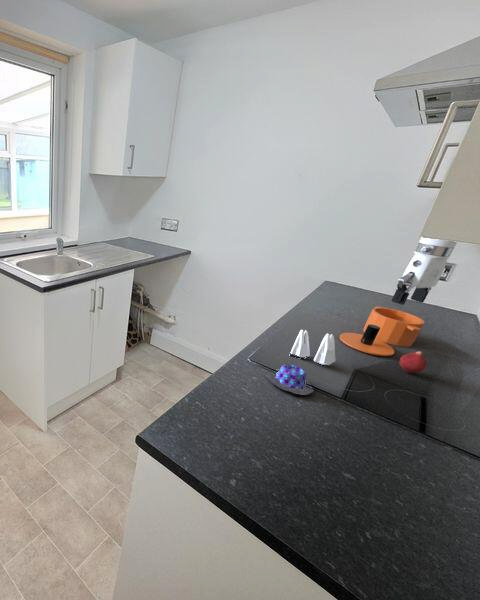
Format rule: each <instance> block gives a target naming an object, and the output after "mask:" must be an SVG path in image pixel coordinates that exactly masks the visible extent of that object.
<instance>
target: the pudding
mask: <svg viewBox="0 0 480 600" xmlns="http://www.w3.org/2000/svg"><path fill="white" fill-rule="evenodd" d="M278 370H279V371H278V372H277V373H276V377H275V378H276V379H277V380H278V381H280V383H281V384H283V385H286V386H289V387H290V388H294V389H296V388H298V389H303V388H304V387H305V386H306V380H307V374H306V371H305V370H304V369H303V368H301V367H299V366H298V365H293V364H291V363H287V364H283V365H282V366H281V367H280V368H279V369H278Z"/></svg>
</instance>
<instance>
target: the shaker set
mask: <svg viewBox="0 0 480 600" xmlns="http://www.w3.org/2000/svg"><path fill="white" fill-rule="evenodd" d="M309 340H310V339H309V333H308V331H307V329H305V330H304V329H300V331H299V333H298V334H297V336H296V339H295V341H294V344H293V346H292V348H291V351H290V353H291V354H295V355H297V356H299V357H305V358H304V359H307V357H309V356H310V357H311V351H310V341H309ZM335 345H336V343H335V336H334V334H332V333H331V334H329V333H326V334H325V335H324V337H323V338H322V341H321V342H320V345H319V347H318V349H317V352H316V354H315V355H314V358H313V361H314V363H316V364H318V363H319V364H321V365H320V366H322V365H328V366H330V365H332V364H334V363H335V362H336V361H337V360H336V349H335V347H336V346H335ZM306 356H307V357H306ZM319 364H318V365H319Z"/></svg>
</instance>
